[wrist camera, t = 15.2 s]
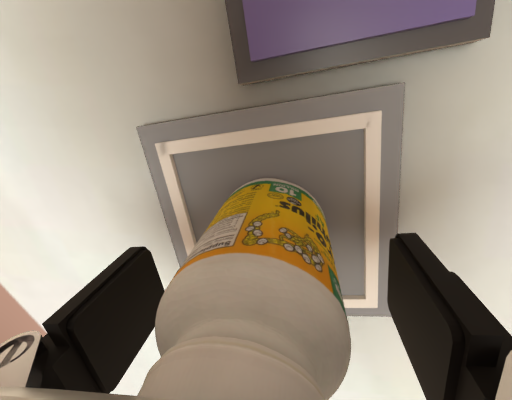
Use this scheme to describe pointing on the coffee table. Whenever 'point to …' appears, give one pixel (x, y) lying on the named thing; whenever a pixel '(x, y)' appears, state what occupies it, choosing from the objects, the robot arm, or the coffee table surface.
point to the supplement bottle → (254, 305)
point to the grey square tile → (294, 175)
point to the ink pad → (345, 32)
